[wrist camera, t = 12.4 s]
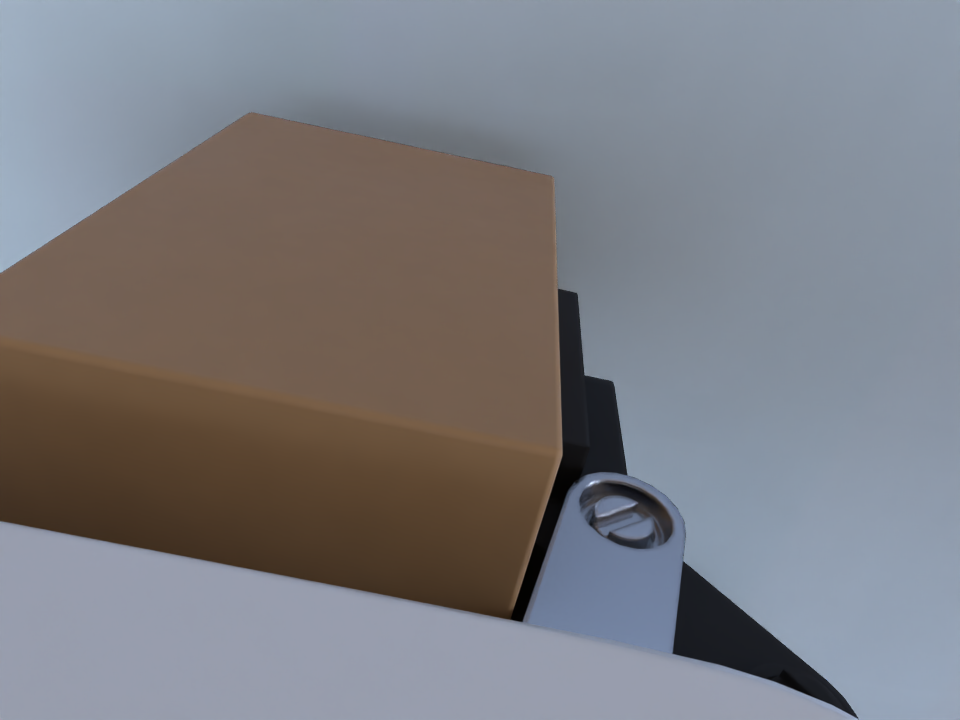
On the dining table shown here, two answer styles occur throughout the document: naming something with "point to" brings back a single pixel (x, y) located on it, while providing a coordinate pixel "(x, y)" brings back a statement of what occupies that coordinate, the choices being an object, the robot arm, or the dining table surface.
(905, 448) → the dining table surface
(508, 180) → the package
